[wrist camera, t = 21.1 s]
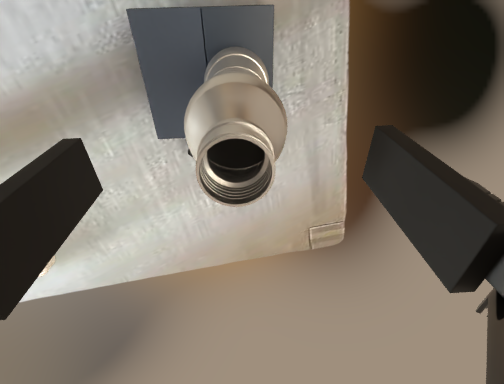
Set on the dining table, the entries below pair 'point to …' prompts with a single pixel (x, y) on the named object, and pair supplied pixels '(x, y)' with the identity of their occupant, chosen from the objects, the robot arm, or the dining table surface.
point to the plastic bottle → (235, 128)
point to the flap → (169, 62)
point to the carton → (239, 31)
